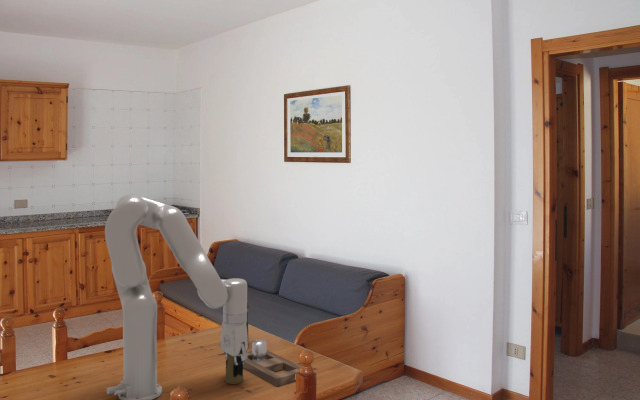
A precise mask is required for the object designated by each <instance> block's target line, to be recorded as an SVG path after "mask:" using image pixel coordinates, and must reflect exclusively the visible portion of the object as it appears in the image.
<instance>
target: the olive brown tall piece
mask: <svg viewBox="0 0 640 400" xmlns="http://www.w3.org/2000/svg"><path fill="white" fill-rule="evenodd" d="M226 354H227V356H228V361H227V368H226V367H225V375H224V376H225V377H224V383H227V384H229V385H236V384H237V385H238V384H241V383H243V382H244V380H245V379H244V374H243V375H242V376H240V375H237V376H236V377H234V376H233V365H234V364H235V361H234V357H233V356H231V355H229V354H228V353H226ZM239 354H241V352H239ZM237 358H238V359H239V358H240V356H239V357H237Z"/></svg>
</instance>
